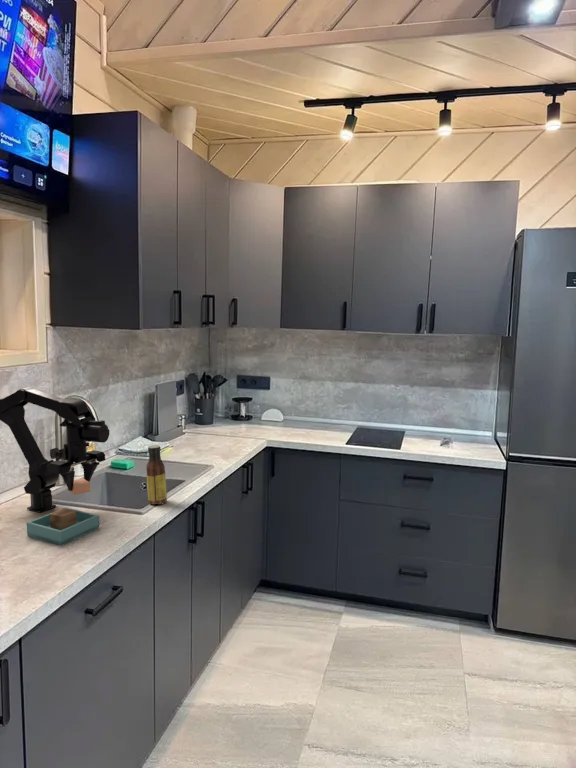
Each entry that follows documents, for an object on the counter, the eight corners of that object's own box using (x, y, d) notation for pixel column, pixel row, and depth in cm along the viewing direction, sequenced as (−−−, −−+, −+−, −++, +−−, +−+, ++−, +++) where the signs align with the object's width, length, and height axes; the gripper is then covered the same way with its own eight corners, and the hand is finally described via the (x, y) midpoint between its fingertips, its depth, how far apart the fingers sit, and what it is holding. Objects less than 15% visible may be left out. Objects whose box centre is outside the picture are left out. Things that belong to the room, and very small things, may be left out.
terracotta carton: (67, 490, 174) (67, 481, 173) (83, 486, 177) (82, 478, 177) (74, 494, 169) (73, 485, 169) (90, 491, 173) (89, 482, 172)
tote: (27, 535, 156) (26, 522, 156) (66, 519, 168) (65, 507, 168) (61, 545, 150) (60, 532, 149) (99, 528, 162) (98, 515, 162)
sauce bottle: (168, 499, 187) (167, 443, 184) (164, 506, 181) (163, 448, 178) (149, 499, 187) (148, 443, 184) (145, 506, 181) (143, 448, 178)
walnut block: (50, 529, 158) (49, 513, 157) (64, 524, 162) (63, 508, 162) (62, 533, 156) (61, 516, 155) (76, 527, 160) (75, 511, 159)
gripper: (81, 431, 183) (83, 476, 185) (33, 443, 166) (36, 492, 168) (105, 435, 178) (107, 481, 180) (59, 447, 161) (61, 498, 163)
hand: (78, 487), depth 173 cm, fingers closed on terracotta carton, 6 cm apart
